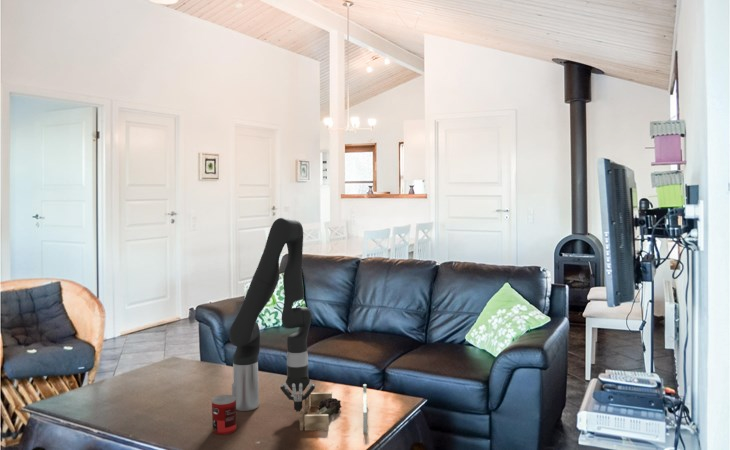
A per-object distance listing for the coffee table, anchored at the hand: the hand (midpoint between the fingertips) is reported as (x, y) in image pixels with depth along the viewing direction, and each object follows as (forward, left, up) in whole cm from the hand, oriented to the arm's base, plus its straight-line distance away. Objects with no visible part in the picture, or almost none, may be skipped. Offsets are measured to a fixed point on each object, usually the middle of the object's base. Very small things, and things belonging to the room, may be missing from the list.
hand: (298, 410), depth 197 cm
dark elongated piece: (+9, -1, -3) cm, 10 cm away
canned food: (-24, -10, -3) cm, 26 cm away
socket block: (+6, 0, -2) cm, 7 cm away
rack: (+24, 0, -2) cm, 24 cm away
